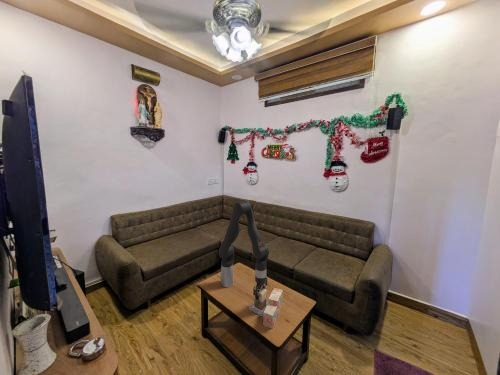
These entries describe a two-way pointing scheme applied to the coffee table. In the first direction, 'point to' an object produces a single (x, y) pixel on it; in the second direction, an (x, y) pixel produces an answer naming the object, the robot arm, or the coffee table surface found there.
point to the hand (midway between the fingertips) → (260, 295)
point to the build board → (258, 311)
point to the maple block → (262, 295)
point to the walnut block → (259, 304)
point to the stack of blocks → (273, 307)
